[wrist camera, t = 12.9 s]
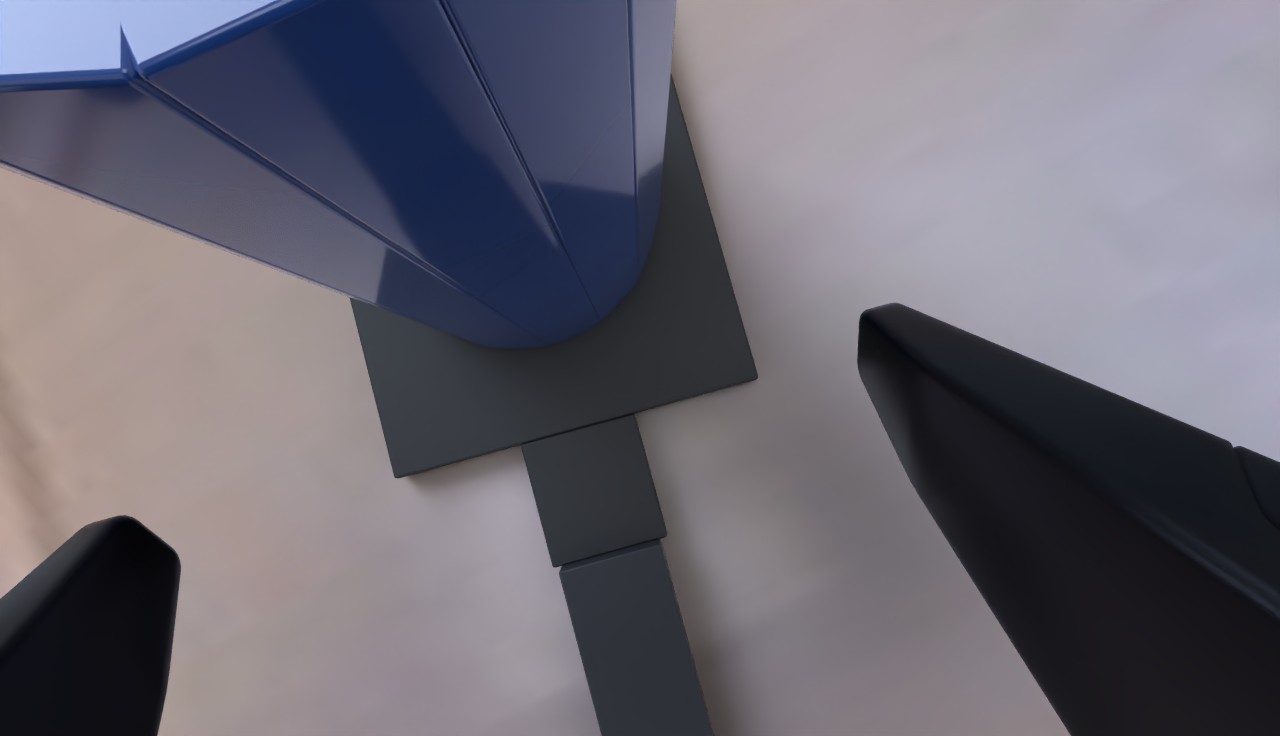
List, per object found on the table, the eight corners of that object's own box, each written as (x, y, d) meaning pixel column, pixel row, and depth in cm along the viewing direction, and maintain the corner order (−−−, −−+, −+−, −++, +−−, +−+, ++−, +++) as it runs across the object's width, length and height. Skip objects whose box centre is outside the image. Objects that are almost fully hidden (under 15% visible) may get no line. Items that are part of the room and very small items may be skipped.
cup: (601, 388, 15) (407, 303, 3) (340, 295, 15) (-1005, -194, 3) (694, 129, 15) (905, -1016, 3) (437, 41, 16) (-369, -1387, 3)
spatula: (932, 998, 15) (955, 1045, 14) (560, 1105, 15) (553, 1161, 14) (637, -31, 16) (637, -63, 15) (298, 60, 16) (274, 34, 15)
